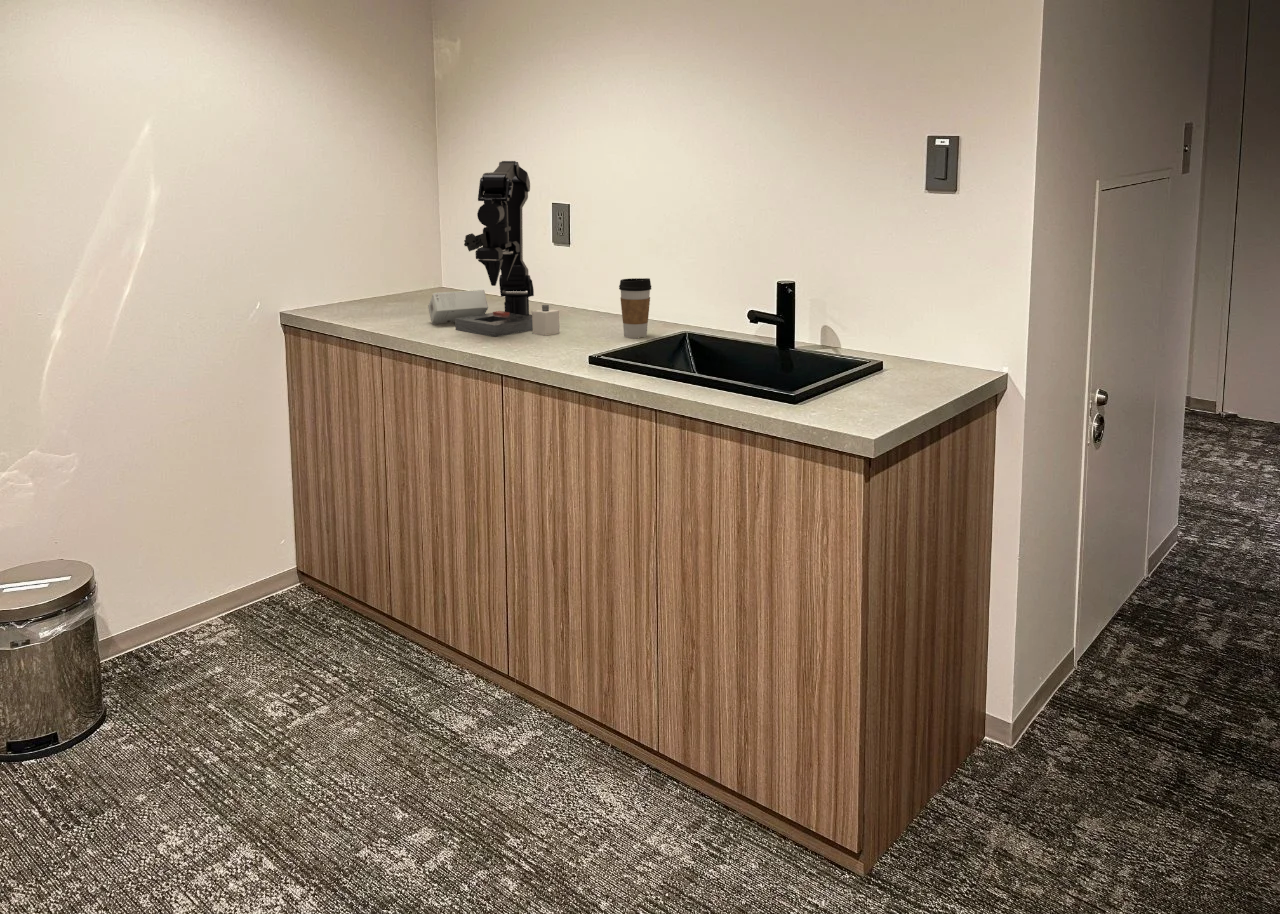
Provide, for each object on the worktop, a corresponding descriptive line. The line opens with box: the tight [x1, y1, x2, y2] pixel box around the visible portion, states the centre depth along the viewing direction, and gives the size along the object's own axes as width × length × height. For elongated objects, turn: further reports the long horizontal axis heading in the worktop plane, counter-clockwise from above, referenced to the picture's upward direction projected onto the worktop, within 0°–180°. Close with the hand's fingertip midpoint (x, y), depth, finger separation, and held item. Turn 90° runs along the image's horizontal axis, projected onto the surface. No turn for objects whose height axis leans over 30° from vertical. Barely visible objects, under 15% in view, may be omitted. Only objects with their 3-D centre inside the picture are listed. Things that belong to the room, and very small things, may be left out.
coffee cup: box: [618, 277, 652, 339], centre depth 301 cm, size 8×8×15 cm
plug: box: [531, 304, 560, 336], centre depth 307 cm, size 5×5×8 cm
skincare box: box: [427, 289, 489, 325], centre depth 322 cm, size 8×6×15 cm
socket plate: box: [454, 310, 533, 338], centre depth 313 cm, size 16×16×4 cm
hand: (499, 283), depth 305 cm, fingers open, 9 cm apart
